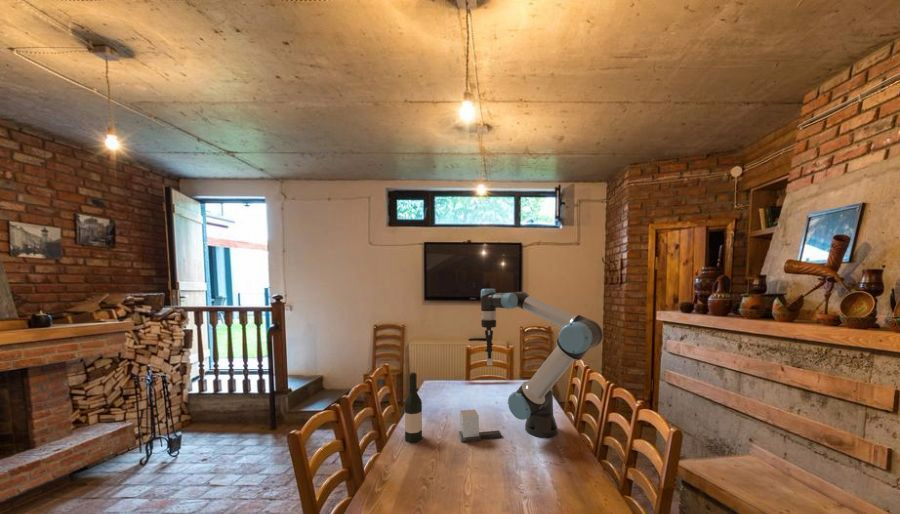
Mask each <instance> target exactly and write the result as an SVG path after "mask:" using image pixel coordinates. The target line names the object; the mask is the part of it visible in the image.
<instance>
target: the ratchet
mask: <svg viewBox="0 0 900 514" xmlns="http://www.w3.org/2000/svg"><path fill="white" fill-rule="evenodd" d="M458 437H459V440H460V443H468V442H469V443H470V442H477V441H479V442H480V441H481V440H490V439H491V440H492V439H500V438H502V433H501V431H500V430H499V429H498V430H491V431H490V430H489V431H488V430H487V431H479V436H474V437H463V435H462V433H461V430H459V431H458Z"/></svg>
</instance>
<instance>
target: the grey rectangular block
mask: <svg viewBox="0 0 900 514" xmlns="http://www.w3.org/2000/svg"><path fill="white" fill-rule="evenodd" d="M459 416H460V417H459V418H460V419H459V421H460V425H459V426H460V431H461V433H462V435H463V437H474V436H479V432H480V427H479V426H480V424H479V423H480V422H479V418H480V417H479V413H478V412H477V411H476V409H464V410H460V411H459Z"/></svg>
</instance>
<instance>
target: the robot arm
mask: <svg viewBox="0 0 900 514" xmlns="http://www.w3.org/2000/svg"><path fill="white" fill-rule="evenodd" d="M515 308H519V309H522V310H524V311H526V312H528V313H530V314H531V315H532V314H533V315H534V316H536V317H538V318H541V319H543V320H545V321H547V322H550V323H551V324H553V325H555V326H557V327H559V328H561V329H560V330H559V334H558V338H557V339H556V340H555V341H556V342H555V343H556V347H555V348H554V349H553V351H552V352H551V353H550V355H548V356H547V358H546V359H545V361H543V363H542V364H541V366H540V367H539V368H538V369H537V371H536V372H535V373H534V374H533V376H532V377H531V378H530V379H529V380H527V381H524V382H523V383H522V384H521V385H520V386H519V388H518V389H517V390H516V391H514V392H512V393H511V394H510V395H509V396H508V397H507V404H508V409H509V411H510V413H511V414H512V415H513V416H514V418H516V419H517V420H521V421H524V420H525V424H524V427H525V428H524V429H525V432H527V433H528V434H530V435H531V436H534V437H538V438H552V437H554V436H557V435H558V432H559V431H558V429H559V428H558V425H557V422H556V419H555V416H554V400H553V395H554V394H553V387H554V386H555V384H556V383H557V382H558V380H559V379H560V378H561V377H562V376H563V375H564V374H565V372H566V371H567V370H568V368H569V367H571V366H572V364H573V363H574V361H581V359H583V357H584V356H585V355H586V354H587V353H588V352H589V350H590V349H593V348H596V347H598V346H599V345H601V342H602V341H603V339H604V332H603V329H602V327H601V325H600V324H599V323H598V322H597V321H595V320H592V319H591V318H587V317H585V316H583V315H581V314H576V315H575V314H572V313H570V312H568V311H566V310H563V309H560V308H558V307H556V306H554V305H552V304H548V303H546V302H544V301H542V300H540V299H537V298H535V297H532V296H530V295H529V293H527V292H525V291H515V292H496V289H495V288H482V289H481V290H480V310H481V311H480V312H479V314H480V316H481V317H480V318H481V321H480V322H481V323H480V325H481V327H482V328H486V330H484V335H485V340H486V349H485V353H486V366H493V365H494V364H493V363H494V362H493V346H494V343H493V341H492V340H493V336H494V335H493V334H494V330H492V328H493V329H494V328H496V327H497V320H496V318H497V309H507V310H510V309H515Z"/></svg>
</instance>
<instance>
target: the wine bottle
mask: <svg viewBox="0 0 900 514" xmlns="http://www.w3.org/2000/svg"><path fill="white" fill-rule="evenodd" d="M417 376H418V375H417V373H416V371H410V373H409V393H408V394H407V396H406V398H405V400H404V441H405V442H407V443H410V444H412V443H418V442H421V441H422V440H423V402H422V399H421V397H420V395H419V393H418V391H417V387H418V385H417V381H418V380H417Z"/></svg>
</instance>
